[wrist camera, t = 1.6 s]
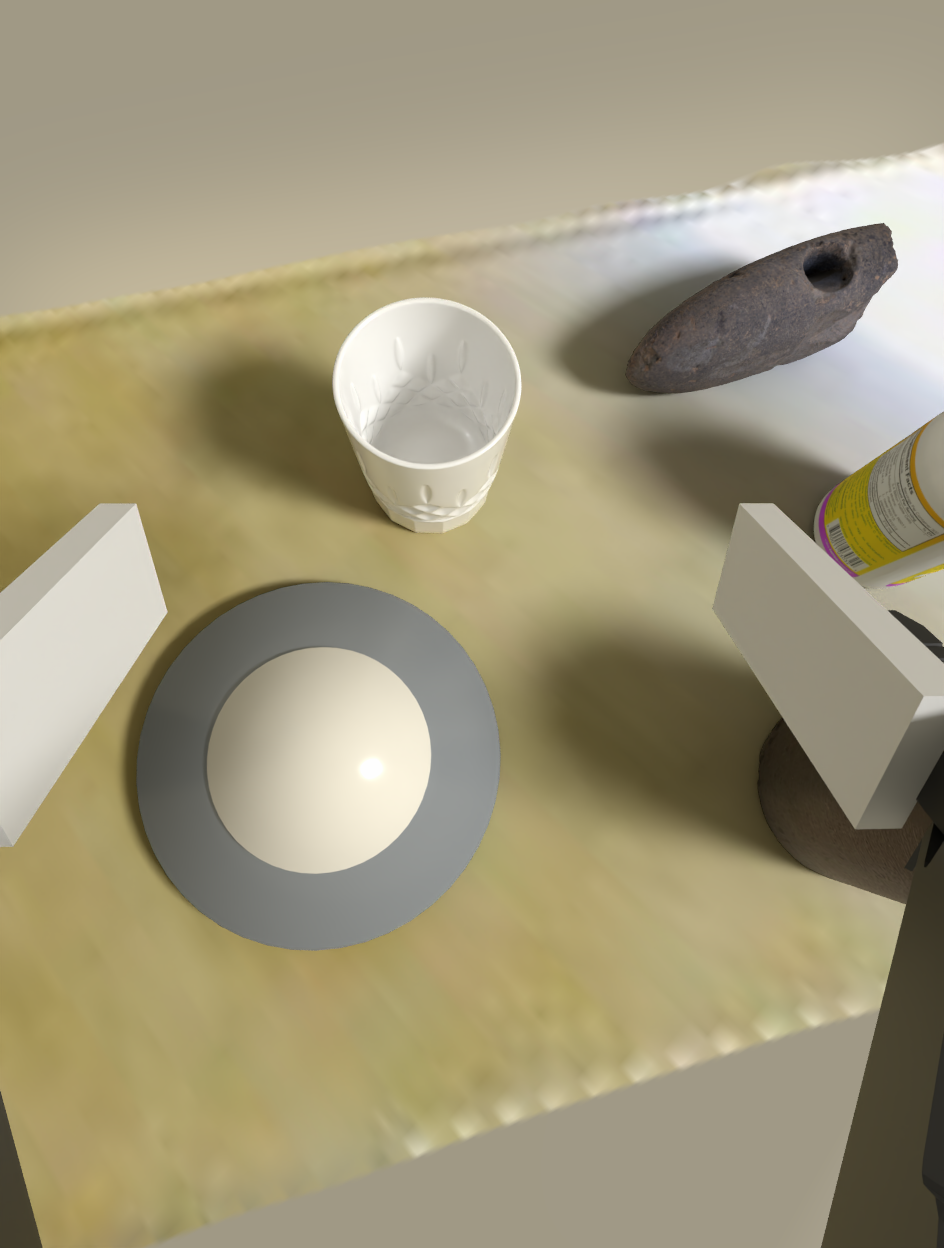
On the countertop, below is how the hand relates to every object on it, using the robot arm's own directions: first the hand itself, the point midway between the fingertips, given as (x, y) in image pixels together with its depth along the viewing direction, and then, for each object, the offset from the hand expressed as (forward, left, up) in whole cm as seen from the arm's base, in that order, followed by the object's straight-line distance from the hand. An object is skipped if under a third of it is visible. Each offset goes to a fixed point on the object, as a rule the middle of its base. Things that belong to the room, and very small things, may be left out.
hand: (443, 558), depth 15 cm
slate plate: (-1, -7, -21) cm, 22 cm away
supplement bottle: (+12, +23, -21) cm, 33 cm away
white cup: (-8, +7, -21) cm, 24 cm away
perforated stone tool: (-1, +26, -21) cm, 33 cm away
